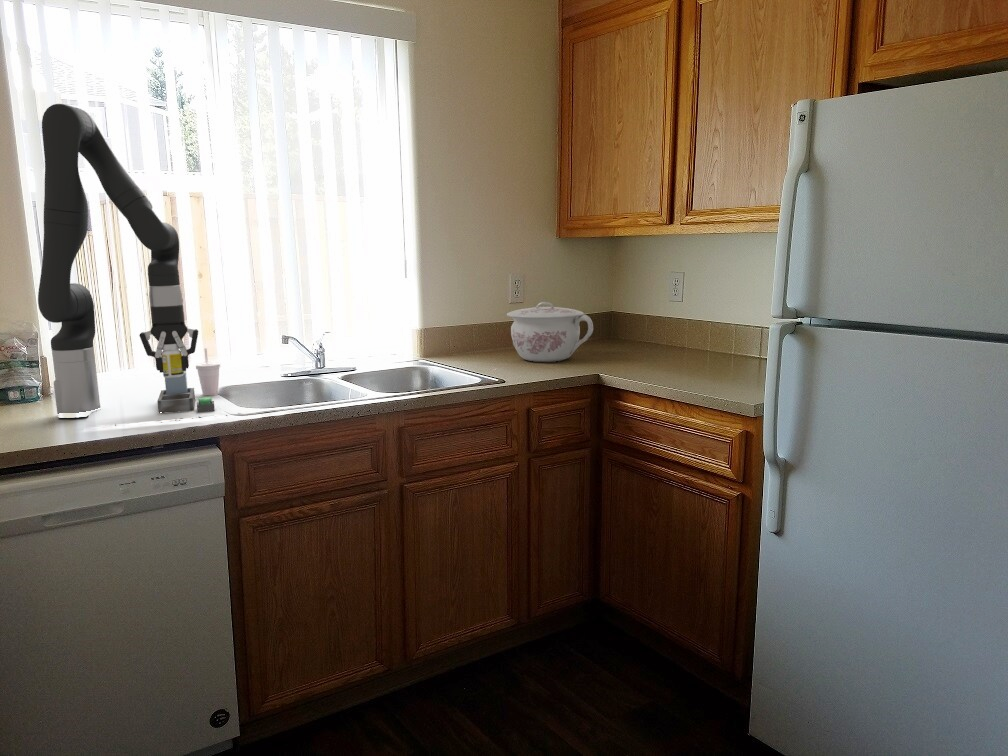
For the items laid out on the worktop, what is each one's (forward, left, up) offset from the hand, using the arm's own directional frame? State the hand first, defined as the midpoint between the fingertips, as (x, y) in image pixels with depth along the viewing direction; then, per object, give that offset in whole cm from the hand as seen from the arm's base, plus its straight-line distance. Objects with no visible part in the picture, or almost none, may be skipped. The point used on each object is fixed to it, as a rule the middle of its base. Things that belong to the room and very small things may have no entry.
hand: (173, 371), depth 192 cm
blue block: (0, +8, -10) cm, 13 cm away
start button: (+7, -5, -12) cm, 15 cm away
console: (+7, -5, -11) cm, 14 cm away
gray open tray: (0, +4, -11) cm, 12 cm away
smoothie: (+8, +17, -11) cm, 22 cm away
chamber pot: (+120, +39, -11) cm, 127 cm away
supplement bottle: (0, 0, -2) cm, 2 cm away
